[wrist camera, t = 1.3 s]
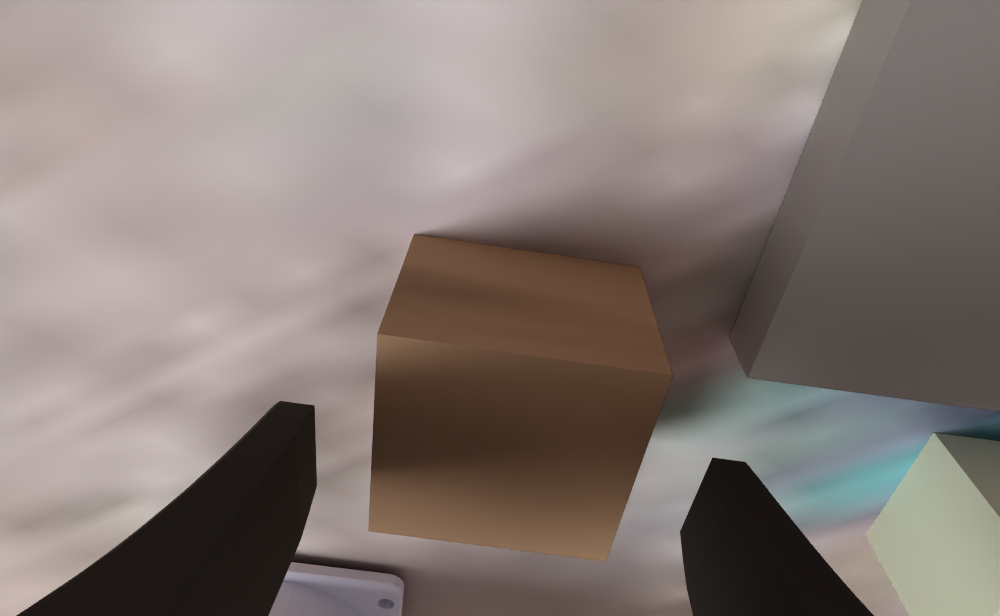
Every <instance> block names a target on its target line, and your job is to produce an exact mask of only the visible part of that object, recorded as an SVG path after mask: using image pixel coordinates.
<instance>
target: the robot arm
mask: <svg viewBox="0 0 1000 616" xmlns="http://www.w3.org/2000/svg"><path fill="white" fill-rule="evenodd" d="M316 487H317V475H316V442H315V408H314V405H306V404H299V403H291V402H283V401H280V402H278V403H277V404H275V405H274V406H273V407H272V408H271V409H270V410H269V411H268V412H267V413H266V414H265V415H264V416H263V417H262V418H261V419H260V420H259V421H258V422H257V423H256V424H255V425H254V426H253V427H252V428H251V429H250V430H249V431H248V432H247V433H246V434H245V435H244V436H243V437H242V438H241V439H240V440H239V441H238V442H237V443H236V444H235V445H234V446H233V447H232V448H231V449H230V450H229V451H227V452H226V453H225V454H224V455H223V456H222V457H221V458H220V459H219V460H218V461H217V462H216V463H215V464H214V465H212V466H211V467H210V468H209V469H208V470H207V471H206V472H205V473H204V474H203V475H202V476H200V477H199V478H198V479H197V480H196V481H195V482H194V483H193V484H192V485H191V486H189V487H188V488H187V489H186V490H185V491H184V492H183V493H181V494H180V495H179V496H178V497H177V498H176V499H174V500H173V501H172V502H171V503H170V504H168V505H167V506H166V507H165V508H164V509H162V510H161V511H160V512H159V513H158V514H156V515H155V516H154V517H153V518H152V519H150V520H149V521H148V522H147V523H146V524H144V525H143V526H142V527H141V528H139V529H138V530H137V531H136V532H134V533H133V534H132V535H130V536H129V537H128V538H127V539H125V540H124V541H123V542H121V543H120V544H119V545H118V546H116V547H115V548H114V549H112V550H111V551H110V552H108V553H107V554H106V555H104V556H103V557H101V558H100V559H99V560H97V561H96V562H95V563H93V564H92V565H90V566H89V567H88V568H86V569H85V570H84V571H82V572H81V573H79V574H78V575H76V576H75V577H74V578H72V579H71V580H69V581H68V582H66V583H65V584H63V585H62V586H60V587H59V588H57V589H56V590H54V591H53V592H51V593H50V594H48V595H47V596H45V597H44V598H42V599H41V600H39V601H38V602H36V603H35V604H33V605H32V606H30V607H29V608H27V609H26V610H24V611H23V612H21V613H20V614H18V615H17V616H402V607H403V596H404V582H403V581H402V580H401V579H400V578H399V577H397V576H395V575H392V574H386V573H378V572H370V571H362V570H353V569H345V568H337V567H328V566H320V565H312V564H303V563H295V562H292V559H293V557H294V554H295V552H296V550H297V547H298V545H299V542H300V540H301V537H302V534H303V531H304V527H305V524H306V521H307V518H308V514H309V511H310V507H311V504H312V500H313V497H314V493H315V490H316ZM680 535H681V544H682V554H683V563H684V571H685V578H686V586H687V591H688V595H689V599H690V604H691V608H692V612H693V616H874V615H873V614H872V613H871V612H870V611H869V610H868V609H867V608H866V607H865V605H864V604H863V603H862V602H861V601H860V600H859V599H858V598H857V597H856V596H855V595H854V593H853V592H852V591H851V590H850V589H849V588H848V587H847V585H846V584H845V583H844V582H843V581H842V580H841V579H840V577H839V576H838V575H837V574H836V573H835V572H834V571H833V569H832V568H831V567H830V566H829V565H828V563H827V562H826V561H825V560H824V559H823V558H822V556H821V555H820V554H819V553H818V552H817V550H816V549H815V548H814V547H813V545H812V544H811V543H810V542H809V541H808V539H807V538H806V537H805V536H804V534H803V533H802V532H801V531H800V530H799V528H798V527H797V526H796V525H795V523H794V522H793V521H792V520H791V518H790V517H789V516H788V515H787V513H786V512H785V511H784V510H783V508H782V507H781V506H780V505H779V503H778V502H777V501H776V499H775V498H774V497H773V496H772V494H771V493H770V492H769V491H768V489H767V488H766V487H765V486H764V484H763V483H762V482H761V481H760V479H759V478H758V477H757V476H756V474H755V473H754V472H753V471H752V469H751V468H750V467H749V466H748V465H747V463H746V462H741V461H733V460H726V459H718V458H712V460H711V462H710V464H709V467H708V469H707V471H706V474H705V476H704V478H703V480H702V483H701V485H700V487H699V490H698V492H697V494H696V496H695V499H694V501H693V503H692V506H691V508H690V510H689V512H688V515H687V517H686V519H685V522H684V524H683V526H682V529H681V531H680Z"/></svg>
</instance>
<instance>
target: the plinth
mask: <svg viewBox="0 0 1000 616" xmlns="http://www.w3.org/2000/svg"><path fill="white" fill-rule="evenodd" d="M729 339H730V341H731V344H732V346H733V348H734V350H735V352H736V354H737V356H738V359H739V361H740V363H741V365H742V367H743V369H744V371H745V374H746V376H747V378H752V379H759V380H767V381H774V382H782V383H789V384H797V385H804V386H812V387H819V388H827V389H834V390H842V391H849V392H856V393H864V394H871V395H879V396H886V397H894V398H901V399H909V400H916V401H924V402H931V403H939V404H946V405H953V406H961V407H968V408H976V409H983V410H991V411H998V412H1000V0H863V1H862V3H861V6H860V8H859V11H858V13H857V16H856V18H855V21H854V23H853V26H852V28H851V31H850V33H849V36H848V39H847V41H846V44H845V46H844V49H843V51H842V54H841V56H840V59H839V61H838V64H837V66H836V69H835V71H834V74H833V76H832V79H831V81H830V84H829V87H828V89H827V92H826V94H825V97H824V99H823V102H822V104H821V107H820V109H819V112H818V114H817V117H816V119H815V122H814V124H813V127H812V129H811V132H810V135H809V137H808V140H807V142H806V145H805V147H804V150H803V152H802V155H801V157H800V160H799V162H798V165H797V167H796V170H795V172H794V175H793V177H792V180H791V183H790V185H789V188H788V190H787V193H786V195H785V198H784V200H783V203H782V205H781V208H780V210H779V213H778V215H777V218H776V220H775V223H774V226H773V228H772V231H771V233H770V236H769V238H768V241H767V243H766V246H765V248H764V251H763V253H762V256H761V258H760V261H759V263H758V266H757V268H756V271H755V274H754V276H753V279H752V281H751V284H750V286H749V289H748V291H747V294H746V296H745V299H744V301H743V304H742V306H741V309H740V311H739V314H738V316H737V319H736V322H735V324H734V327H733V329H732V332H731V334H730V337H729Z"/></svg>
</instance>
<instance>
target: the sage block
mask: <svg viewBox="0 0 1000 616" xmlns="http://www.w3.org/2000/svg"><path fill="white" fill-rule="evenodd" d="M866 537H867V539H868V541H869V543H870V545H871V546H872V548H873V550H874V552H875V554H876V556H877V558H878V559H879V561H880V563H881V565H882V567H883V569H884V571H885V572H886V574H887V576H888V578H889V580H890V582H891V584H892V586H893V587H894V589H895V591H896V593H897V595H898V597H899V599H900V600H901V602H902V604H903V606H904V608H905V610H906V612H907V613H908V615H909V616H1000V441H994V440H986V439H978V438H971V437H963V436H955V435H948V434H940V433H933V435H932V436H931V438H930V439H929V441H928V442H927V444H926V445H925V447H924V448H923V450H922V451H921V453H920V454H919V456H918V457H917V459H916V460H915V462H914V463H913V465H912V466H911V468H910V469H909V471H908V472H907V474H906V475H905V477H904V478H903V480H902V481H901V483H900V484H899V486H898V487H897V489H896V490H895V492H894V493H893V495H892V496H891V498H890V499H889V501H888V502H887V504H886V505H885V507H884V508H883V510H882V511H881V513H880V514H879V516H878V517H877V519H876V520H875V522H874V523H873V525H872V526H871V528H870V529H869V531H868V532H867V534H866Z"/></svg>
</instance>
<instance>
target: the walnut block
mask: <svg viewBox="0 0 1000 616" xmlns="http://www.w3.org/2000/svg"><path fill="white" fill-rule="evenodd" d="M672 376H673V374H672V370H671V367H670V364H669V361H668V357H667V354H666V351H665V347H664V344H663V341H662V338H661V334H660V331H659V328H658V325H657V321H656V318H655V315H654V312H653V308H652V305H651V302H650V298H649V295H648V292H647V289H646V285H645V282H644V279H643V276H642V272H641V269H640V267H637V266H630V265H624V264H617V263H610V262H603V261H596V260H589V259H582V258H575V257H568V256H562V255H555V254H548V253H541V252H534V251H527V250H520V249H513V248H506V247H499V246H493V245H486V244H479V243H472V242H465V241H458V240H451V239H444V238H437V237H431V236H424V235H417V234H414V236H413V238H412V241H411V244H410V247H409V249H408V252H407V255H406V258H405V260H404V263H403V266H402V268H401V271H400V274H399V277H398V279H397V282H396V285H395V287H394V290H393V293H392V296H391V298H390V301H389V304H388V307H387V309H386V312H385V315H384V317H383V320H382V323H381V326H380V328H379V331H378V334H377V354H376V376H375V398H374V420H373V442H372V464H371V486H370V508H369V530H368V531H371V532H379V533H387V534H394V535H402V536H410V537H418V538H426V539H434V540H442V541H449V542H457V543H465V544H473V545H481V546H489V547H496V548H504V549H512V550H520V551H528V552H536V553H544V554H551V555H559V556H567V557H575V558H583V559H591V560H598V561H606V559H607V557H608V554H609V551H610V548H611V546H612V543H613V540H614V537H615V534H616V532H617V529H618V526H619V523H620V521H621V518H622V515H623V512H624V510H625V507H626V504H627V501H628V498H629V496H630V493H631V490H632V487H633V485H634V482H635V479H636V476H637V473H638V471H639V468H640V465H641V462H642V460H643V457H644V454H645V451H646V449H647V446H648V443H649V440H650V437H651V435H652V432H653V429H654V426H655V424H656V421H657V418H658V415H659V412H660V410H661V407H662V404H663V401H664V399H665V396H666V393H667V390H668V387H669V385H670V382H671V379H672Z"/></svg>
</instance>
